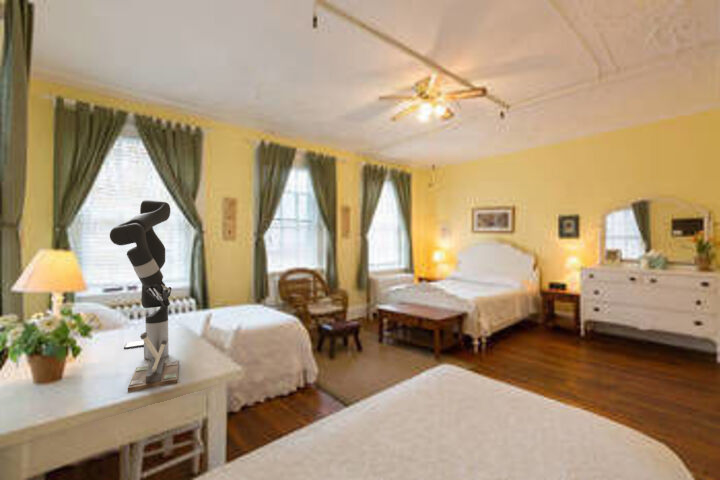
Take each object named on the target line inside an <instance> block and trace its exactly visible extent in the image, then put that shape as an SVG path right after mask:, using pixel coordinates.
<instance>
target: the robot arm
mask: <svg viewBox="0 0 720 480" xmlns="http://www.w3.org/2000/svg"><path fill="white" fill-rule="evenodd" d="M170 216H171V207H170V204H169V203H168V202H166V201H161V200H152V199H150V200H149V199H144V200H142V202H141V203H140V209H139V214H137V215H135V216H134V217H132V218H130V220H128V221H126V222H123V223H121V224H118V225H116V226H114V227H113V228H111V230H110V232H109V239H110V241H111V243H113V244H114V245H116V246H126V245H130V244H135V246H134V247H132V248H130V249H128V250H127V252H126V256H127V258H128V260H129V262H130V264H131V266H132V267H133V270H134V272H135V274H136V276H137V277H138V279H139V282H141V299H140V300H141V305H142V307H143V308H144V309H152V308H158V309H157V310H156V311H155V312H152V313H150V314H148V315H146V317H145V319H144V320H145V332H146V333H147V334H148V335H147V336H148V338H149V339H150V341H151V343H152V344H153V346H154V347H155V349H156V351H157V352H159V350H160V347H161V342H162V339H163V338H168V339H169V306H170V305H171V302H170V300H169V297H171V295H172V293H171V292H172V287H171V286H166V284H165V283H164V281H163V280H164V275H163V273H162V271H161V270H162V268H163V267H164V265H165V263H166V247H165V245H164V243H163V242H162V240H161V238H159V236H158V234H157V233H156V232H155V231H154V227H155V226H157V225H159V224H162V223H164V222H166V221H168V219H169V218H170ZM169 345H170V344H169V340H168V341H167V344H166V345H165V346H164V349H163V352H162V354H161V357H160V358H163V357H165V358H166V357H168V356H169V352H170V351H169ZM143 359H146V360H150V361H151V359H155V358H154V356H153V355H152V353H151V352H150V350H149V348H148V347H147V345H146V343H145V342H144V347H143Z"/></svg>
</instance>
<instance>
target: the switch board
mask: <svg viewBox="0 0 720 480" xmlns="http://www.w3.org/2000/svg"><path fill="white" fill-rule="evenodd" d="M165 360H166V357H163V358H160V360H159V363H158V365H157V369H156V372H155V373H151V370H152V367H153V366H154V363H155V359H151V360H150V362H149V365H145V366H138V367H136V368H135V370H134V373H133V374H132V378H131V379H130V381H129V384H128V387H127V392H128V393H131V392H134V391H135V392H136V391H140V390H141V391H142V390H146V389H151V388H152V389H153V388H157V387H162V386H167V385H172V384H177V383H178V379H179V378H178V377H179V368H180V360H174V361H168V362H166V361H165Z"/></svg>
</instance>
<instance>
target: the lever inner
mask: <svg viewBox="0 0 720 480" xmlns="http://www.w3.org/2000/svg"><path fill="white" fill-rule="evenodd" d="M147 335H148V334H147V333H146V331H145V332H143V333H141V334H140V336H139V337H140V339H141V340H142V341H144V342H145V343H146V345H147V347H148V348H149V350H150V352H151V353H152V355H153V356H154V358H155V360H156V358H157V355H158V352H157V351H156V349H155V347H154V346H153V344H152V343H151V341H150V339H149V338H148V336H147Z"/></svg>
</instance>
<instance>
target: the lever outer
mask: <svg viewBox="0 0 720 480" xmlns="http://www.w3.org/2000/svg"><path fill="white" fill-rule="evenodd" d="M167 341H168V342H169V337H168V338H163V339H162V342H161V347H160V350H159V352H158V355H157V358H156V360H155V363H154V366H153V367H152V370H151V373H155V372H156V369H157V365H158V363H159V360H160V357H161V354H162V352H163V349H164V346H165V345H166V344H167Z"/></svg>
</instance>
